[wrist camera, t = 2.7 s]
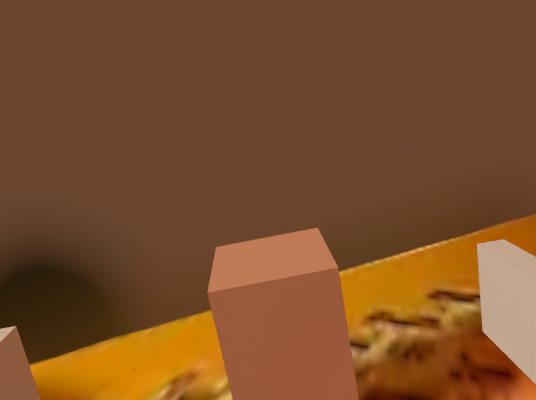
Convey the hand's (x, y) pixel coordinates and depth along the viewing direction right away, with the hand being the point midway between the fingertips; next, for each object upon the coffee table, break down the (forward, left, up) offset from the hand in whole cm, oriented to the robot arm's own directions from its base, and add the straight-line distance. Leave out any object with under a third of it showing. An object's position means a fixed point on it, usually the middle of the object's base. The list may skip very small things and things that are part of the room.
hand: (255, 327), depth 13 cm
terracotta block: (+5, -9, -14) cm, 17 cm away
